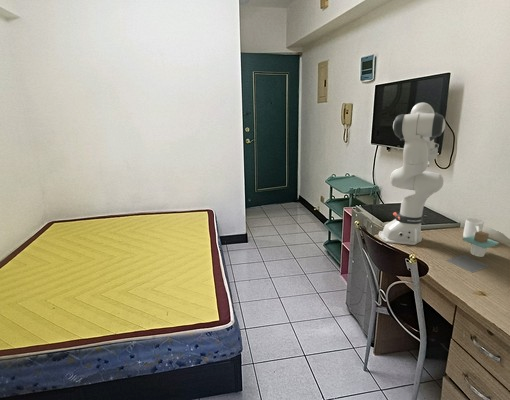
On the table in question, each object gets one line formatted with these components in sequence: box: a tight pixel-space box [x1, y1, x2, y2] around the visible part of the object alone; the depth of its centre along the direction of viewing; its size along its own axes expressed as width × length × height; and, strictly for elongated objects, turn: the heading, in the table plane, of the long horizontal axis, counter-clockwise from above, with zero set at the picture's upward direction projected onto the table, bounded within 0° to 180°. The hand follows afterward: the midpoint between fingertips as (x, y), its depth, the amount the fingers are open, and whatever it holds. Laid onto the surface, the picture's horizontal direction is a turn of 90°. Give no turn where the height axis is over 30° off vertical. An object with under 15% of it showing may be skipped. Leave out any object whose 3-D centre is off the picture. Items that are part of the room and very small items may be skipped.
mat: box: [445, 254, 490, 274], centre depth 153 cm, size 13×13×1 cm
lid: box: [461, 230, 500, 250], centre depth 159 cm, size 11×11×5 cm
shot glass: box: [470, 243, 488, 258], centre depth 161 cm, size 7×7×7 cm
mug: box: [462, 217, 485, 238], centre depth 178 cm, size 12×8×10 cm
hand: (421, 167), depth 199 cm, fingers open, 8 cm apart
